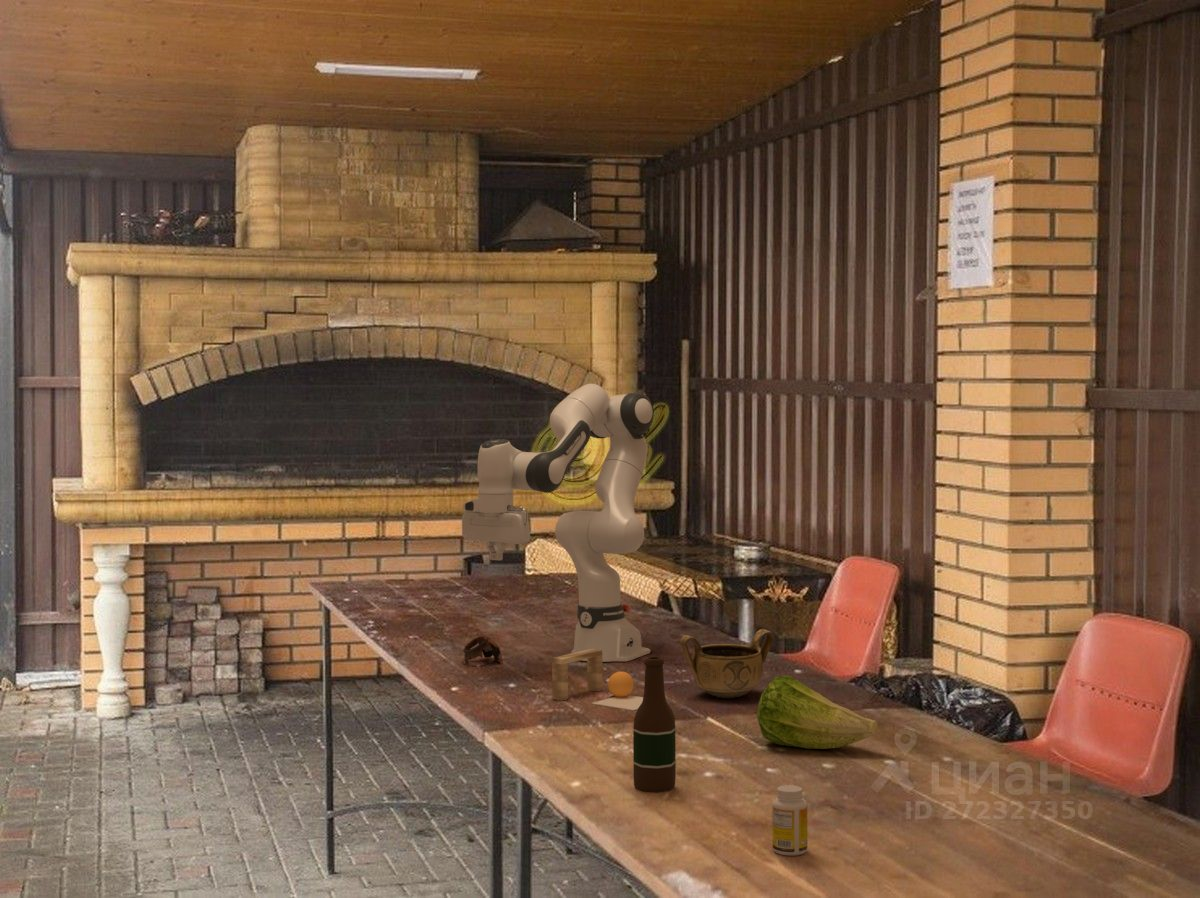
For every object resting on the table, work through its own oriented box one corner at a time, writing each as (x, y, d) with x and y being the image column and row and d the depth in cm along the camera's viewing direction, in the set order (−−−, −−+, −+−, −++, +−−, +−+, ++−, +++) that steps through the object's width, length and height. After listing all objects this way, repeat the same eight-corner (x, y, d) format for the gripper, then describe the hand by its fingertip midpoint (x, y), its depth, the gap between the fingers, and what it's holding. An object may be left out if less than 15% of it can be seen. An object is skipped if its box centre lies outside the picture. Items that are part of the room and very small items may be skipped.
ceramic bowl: (757, 686, 382) (757, 624, 381) (786, 700, 365) (786, 635, 365) (670, 692, 375) (670, 629, 375) (695, 706, 359) (695, 641, 358)
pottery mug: (504, 668, 409) (488, 642, 407) (472, 683, 410) (456, 657, 408) (508, 648, 420) (493, 623, 418) (477, 663, 422) (462, 638, 420)
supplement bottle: (801, 845, 255) (801, 782, 254) (812, 855, 249) (812, 791, 249) (767, 847, 254) (767, 784, 253) (777, 858, 248) (777, 793, 248)
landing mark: (623, 695, 372) (623, 694, 372) (664, 701, 364) (664, 700, 364) (591, 703, 362) (591, 703, 362) (633, 710, 355) (633, 709, 355)
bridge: (552, 699, 368) (552, 657, 367) (592, 688, 380) (592, 648, 379) (562, 700, 366) (562, 659, 365) (602, 690, 378) (602, 649, 377)
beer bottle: (631, 782, 294) (630, 654, 293) (672, 781, 295) (672, 653, 294) (635, 793, 286) (635, 662, 285) (678, 792, 287) (678, 661, 286)
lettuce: (889, 752, 320) (860, 775, 308) (780, 729, 333) (747, 750, 320) (892, 683, 318) (862, 704, 305) (782, 663, 330) (749, 681, 318)
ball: (614, 679, 374) (630, 665, 372) (627, 701, 372) (643, 686, 369) (598, 682, 370) (614, 667, 367) (611, 703, 367) (627, 689, 364)
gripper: (535, 505, 390) (535, 561, 391) (474, 501, 403) (475, 555, 404) (518, 507, 385) (519, 564, 386) (457, 503, 398) (458, 558, 399)
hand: (496, 559), depth 395 cm, fingers closed
